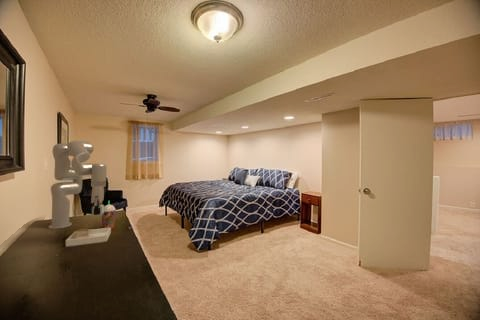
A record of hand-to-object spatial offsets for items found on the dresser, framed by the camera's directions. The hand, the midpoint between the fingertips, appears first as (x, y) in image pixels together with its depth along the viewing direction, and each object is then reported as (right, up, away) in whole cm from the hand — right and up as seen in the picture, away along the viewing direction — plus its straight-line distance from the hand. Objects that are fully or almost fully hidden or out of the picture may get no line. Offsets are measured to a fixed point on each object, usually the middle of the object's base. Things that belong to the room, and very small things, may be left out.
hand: (97, 213), depth 123 cm
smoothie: (-4, -16, +16) cm, 23 cm away
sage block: (0, -1, 0) cm, 1 cm away
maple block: (-7, -15, -3) cm, 17 cm away
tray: (-4, -15, -2) cm, 16 cm away
